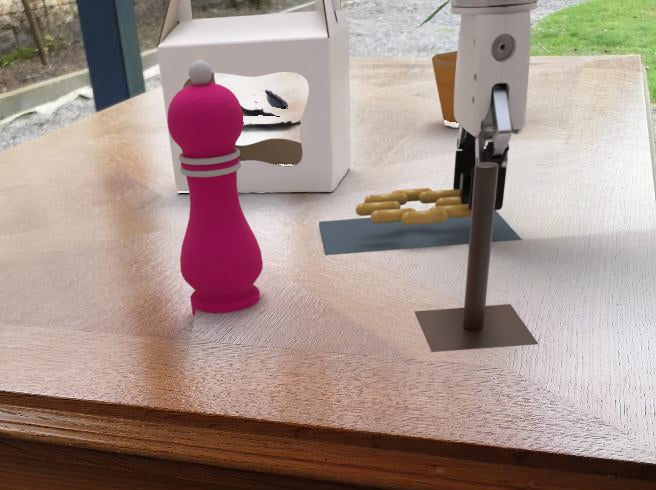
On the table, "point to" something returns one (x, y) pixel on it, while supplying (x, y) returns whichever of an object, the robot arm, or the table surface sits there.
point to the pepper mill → (213, 197)
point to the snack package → (272, 100)
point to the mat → (403, 234)
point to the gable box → (262, 59)
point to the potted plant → (445, 77)
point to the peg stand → (477, 287)
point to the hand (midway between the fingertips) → (476, 198)
